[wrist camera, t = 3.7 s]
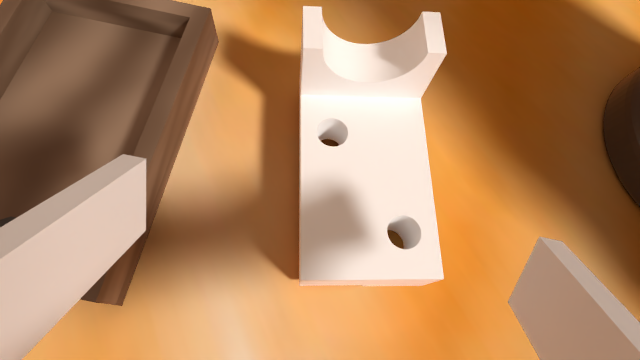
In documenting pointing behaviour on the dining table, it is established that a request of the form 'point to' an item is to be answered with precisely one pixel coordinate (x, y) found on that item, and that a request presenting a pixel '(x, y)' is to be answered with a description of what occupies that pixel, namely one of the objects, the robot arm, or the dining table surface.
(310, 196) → the bracket
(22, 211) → the walnut tray
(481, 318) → the dining table surface
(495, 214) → the dining table surface
